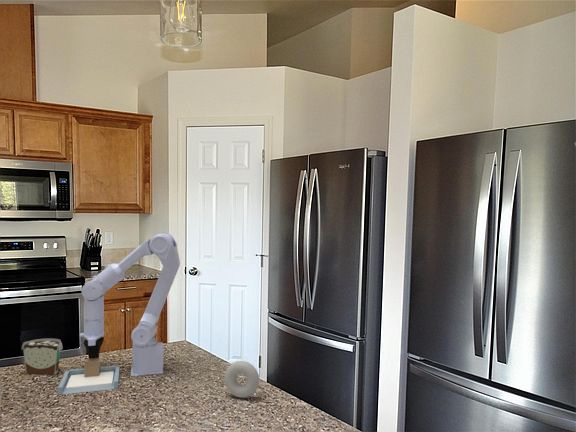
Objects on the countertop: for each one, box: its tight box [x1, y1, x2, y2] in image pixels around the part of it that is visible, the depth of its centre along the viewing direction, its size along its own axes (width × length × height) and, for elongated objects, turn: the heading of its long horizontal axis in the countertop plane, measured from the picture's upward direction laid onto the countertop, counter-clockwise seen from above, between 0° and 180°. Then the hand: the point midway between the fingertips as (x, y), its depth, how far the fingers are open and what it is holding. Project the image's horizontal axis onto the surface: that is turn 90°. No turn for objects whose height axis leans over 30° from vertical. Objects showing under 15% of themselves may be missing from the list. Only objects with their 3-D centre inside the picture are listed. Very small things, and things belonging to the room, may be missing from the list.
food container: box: [21, 338, 64, 376], centre depth 142 cm, size 12×6×10 cm, turn 84°
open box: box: [57, 364, 121, 396], centre depth 133 cm, size 15×14×2 cm
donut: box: [224, 360, 260, 399], centre depth 124 cm, size 10×3×10 cm, turn 74°
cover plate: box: [66, 357, 114, 391], centre depth 133 cm, size 12×10×5 cm
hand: (93, 362), depth 142 cm, fingers closed
